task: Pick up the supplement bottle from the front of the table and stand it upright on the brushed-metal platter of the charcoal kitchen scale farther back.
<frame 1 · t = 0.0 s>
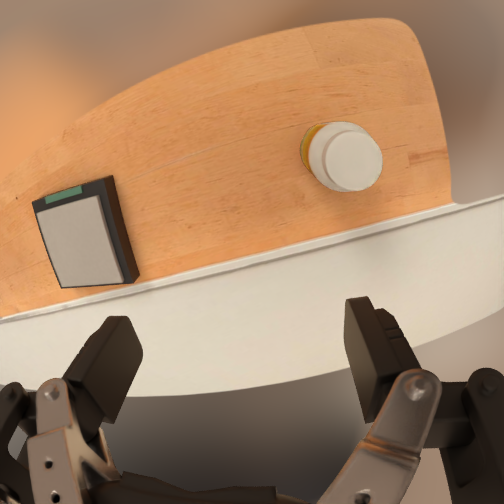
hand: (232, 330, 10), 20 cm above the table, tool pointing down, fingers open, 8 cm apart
scale: (85, 234, 30), on the table
supplement bottle: (326, 150, 26), on the table
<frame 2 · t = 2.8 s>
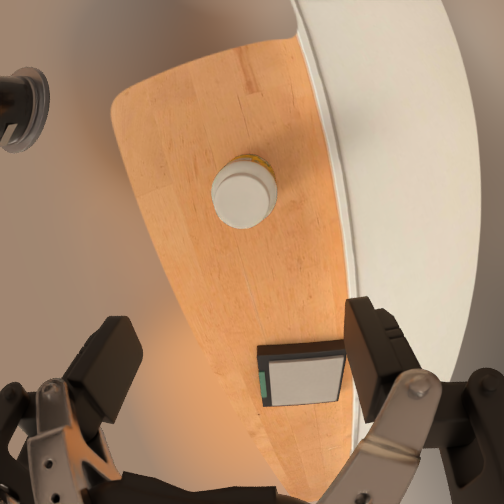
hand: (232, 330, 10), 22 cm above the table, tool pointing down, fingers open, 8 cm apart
scale: (301, 372, 40), on the table
supplement bottle: (249, 179, 29), on the table
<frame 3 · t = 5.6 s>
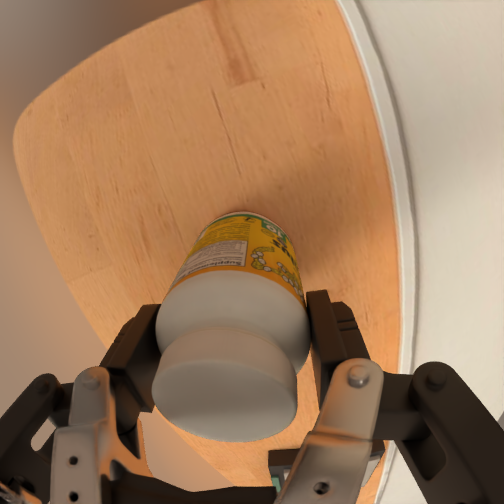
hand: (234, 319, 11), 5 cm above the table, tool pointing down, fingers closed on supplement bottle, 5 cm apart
scale: (323, 465, 26), on the table
supplement bottle: (245, 256, 16), on the table, touching gripper
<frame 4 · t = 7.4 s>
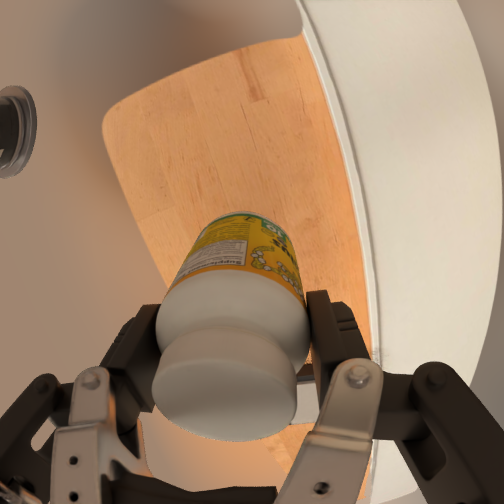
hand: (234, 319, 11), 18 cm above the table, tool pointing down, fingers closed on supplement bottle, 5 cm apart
scale: (320, 390, 37), on the table
supplement bottle: (245, 256, 16), point 12 cm above the table, touching gripper
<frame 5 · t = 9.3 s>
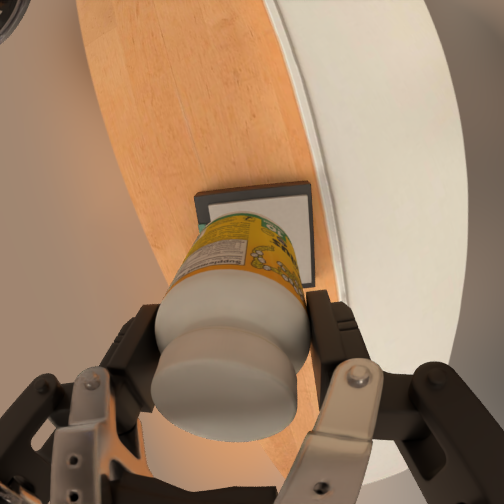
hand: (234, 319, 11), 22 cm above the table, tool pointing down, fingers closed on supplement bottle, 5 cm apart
scale: (258, 237, 33), on the table
supplement bottle: (245, 255, 16), point 16 cm above the table, touching gripper
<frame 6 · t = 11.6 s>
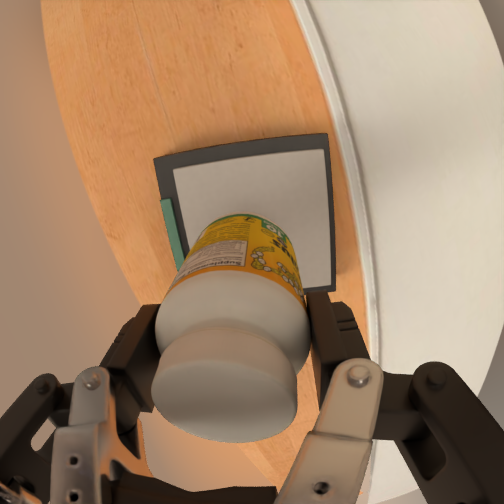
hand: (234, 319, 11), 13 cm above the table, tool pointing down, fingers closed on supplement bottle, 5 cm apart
scale: (251, 219, 22), on the table
supplement bottle: (245, 256, 16), point 7 cm above the table, touching gripper
when the fingers open (8 cm above the table, at t = 13.2 s): supplement bottle stays where it is, resting on scale.
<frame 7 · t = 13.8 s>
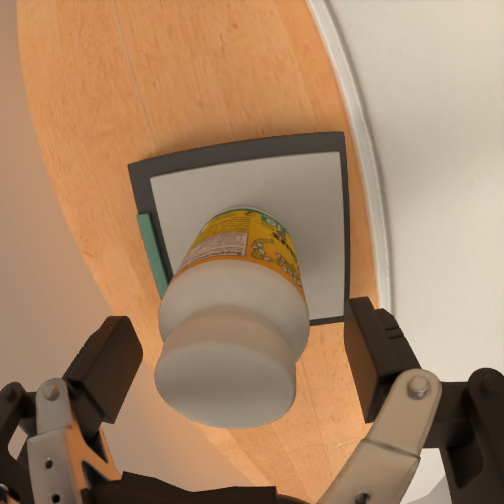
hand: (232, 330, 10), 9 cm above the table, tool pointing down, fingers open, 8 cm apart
scale: (248, 236, 18), on the table
supplement bottle: (245, 250, 16), point 2 cm above the table, touching scale
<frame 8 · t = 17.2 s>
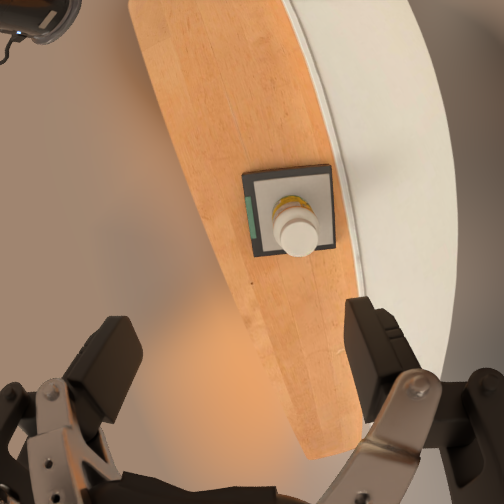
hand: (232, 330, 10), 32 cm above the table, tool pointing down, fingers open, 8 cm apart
scale: (290, 208, 41), on the table
supplement bottle: (291, 212, 39), point 2 cm above the table, touching scale
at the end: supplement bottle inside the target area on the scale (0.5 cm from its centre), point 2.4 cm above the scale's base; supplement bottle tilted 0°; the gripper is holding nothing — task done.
